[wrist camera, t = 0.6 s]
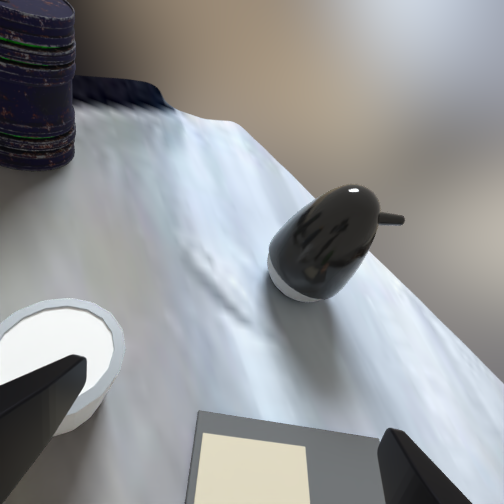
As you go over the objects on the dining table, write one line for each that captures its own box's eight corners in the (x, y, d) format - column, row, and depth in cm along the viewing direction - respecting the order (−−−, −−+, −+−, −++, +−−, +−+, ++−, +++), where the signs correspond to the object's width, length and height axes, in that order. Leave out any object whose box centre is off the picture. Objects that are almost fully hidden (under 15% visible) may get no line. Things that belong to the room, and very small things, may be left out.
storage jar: (-21, 111, 34) (-59, -58, 24) (77, 131, 39) (77, -2, 29) (-43, 162, 28) (-106, -31, 19) (73, 178, 33) (73, 32, 24)
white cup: (81, 462, 18) (84, 440, 14) (-34, 431, 17) (-74, 396, 13) (131, 361, 23) (145, 320, 19) (44, 331, 22) (37, 280, 18)
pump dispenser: (328, 326, 35) (430, 246, 25) (251, 298, 33) (329, 198, 23) (323, 266, 42) (399, 186, 32) (259, 240, 40) (321, 145, 30)
